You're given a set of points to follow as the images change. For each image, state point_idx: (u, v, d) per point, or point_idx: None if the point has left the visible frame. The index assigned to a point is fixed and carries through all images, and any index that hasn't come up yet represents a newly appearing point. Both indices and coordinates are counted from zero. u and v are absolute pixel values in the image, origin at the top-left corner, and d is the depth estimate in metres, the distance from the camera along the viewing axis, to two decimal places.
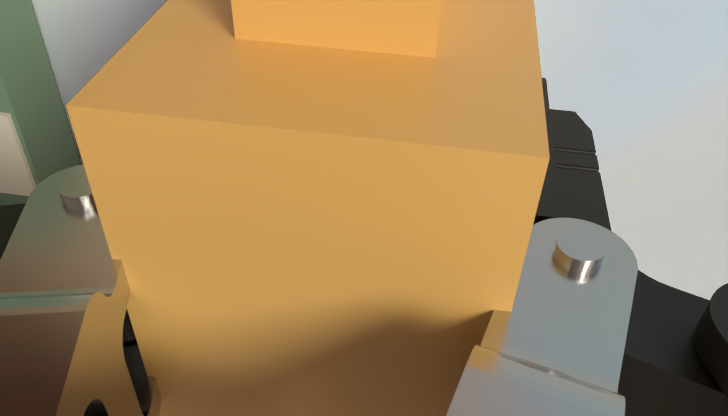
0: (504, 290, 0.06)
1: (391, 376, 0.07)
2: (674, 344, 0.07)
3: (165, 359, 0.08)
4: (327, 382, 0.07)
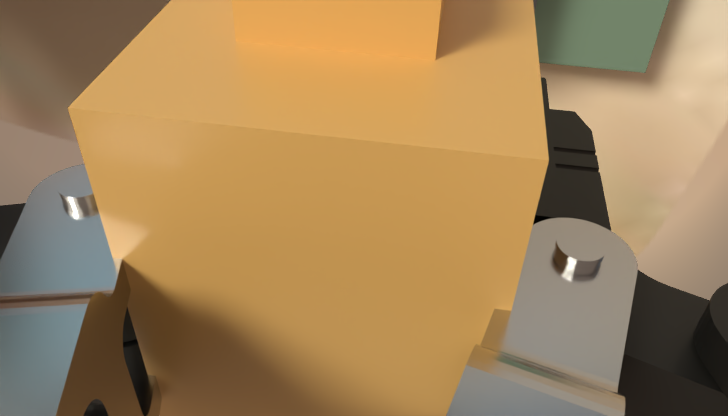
0: (504, 291, 0.06)
1: (391, 377, 0.07)
2: (674, 344, 0.07)
3: (166, 359, 0.08)
4: (328, 383, 0.08)
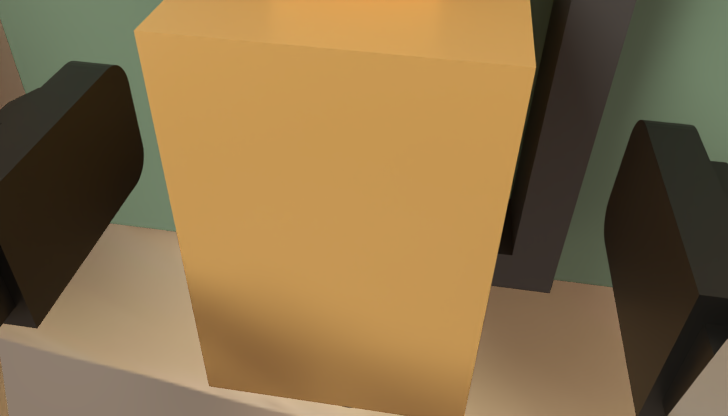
0: (500, 191, 0.07)
1: (402, 279, 0.08)
2: None
3: (204, 269, 0.09)
4: (347, 289, 0.09)
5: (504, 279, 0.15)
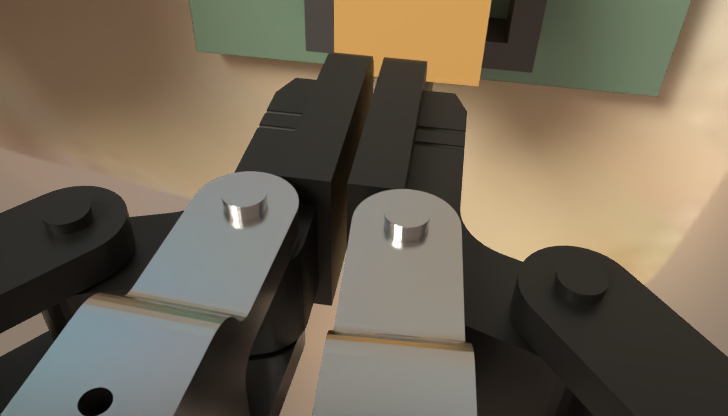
0: None
1: None
2: (492, 307, 0.07)
3: None
4: None
5: (502, 63, 0.23)
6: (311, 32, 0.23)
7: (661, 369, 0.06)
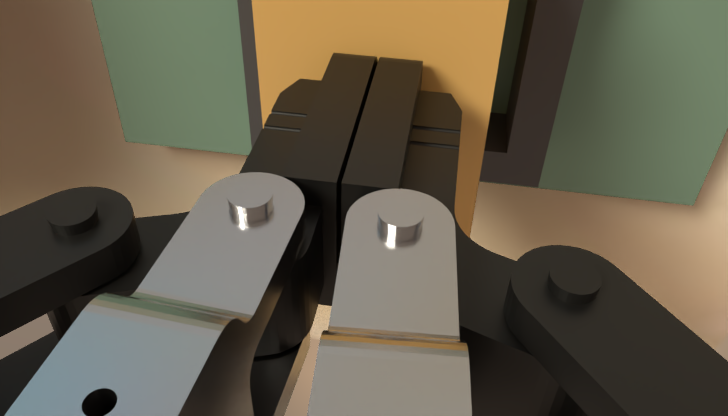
0: (495, 37, 0.10)
1: None
2: (486, 306, 0.07)
3: None
4: None
5: (500, 175, 0.18)
6: (258, 134, 0.18)
7: (654, 368, 0.06)
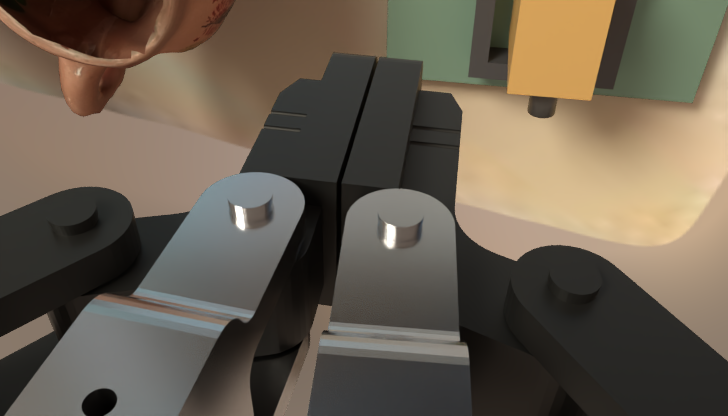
0: (610, 11, 0.29)
1: (580, 42, 0.30)
2: (486, 306, 0.07)
3: (520, 43, 0.31)
4: (563, 47, 0.31)
5: None
6: (473, 65, 0.37)
7: (654, 368, 0.06)
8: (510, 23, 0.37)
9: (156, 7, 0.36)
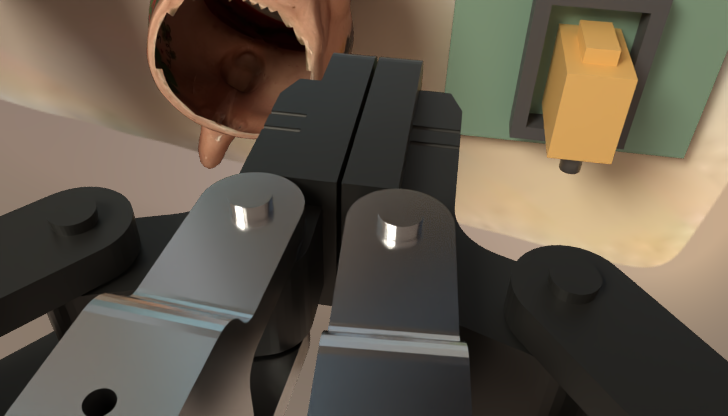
0: (628, 102, 0.39)
1: (605, 123, 0.40)
2: (486, 306, 0.07)
3: (560, 122, 0.41)
4: (592, 126, 0.41)
5: None
6: (514, 129, 0.47)
7: (654, 368, 0.06)
8: (543, 96, 0.47)
9: (266, 82, 0.46)
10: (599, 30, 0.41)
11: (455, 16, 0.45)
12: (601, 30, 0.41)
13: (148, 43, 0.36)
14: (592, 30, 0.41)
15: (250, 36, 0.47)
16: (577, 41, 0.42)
